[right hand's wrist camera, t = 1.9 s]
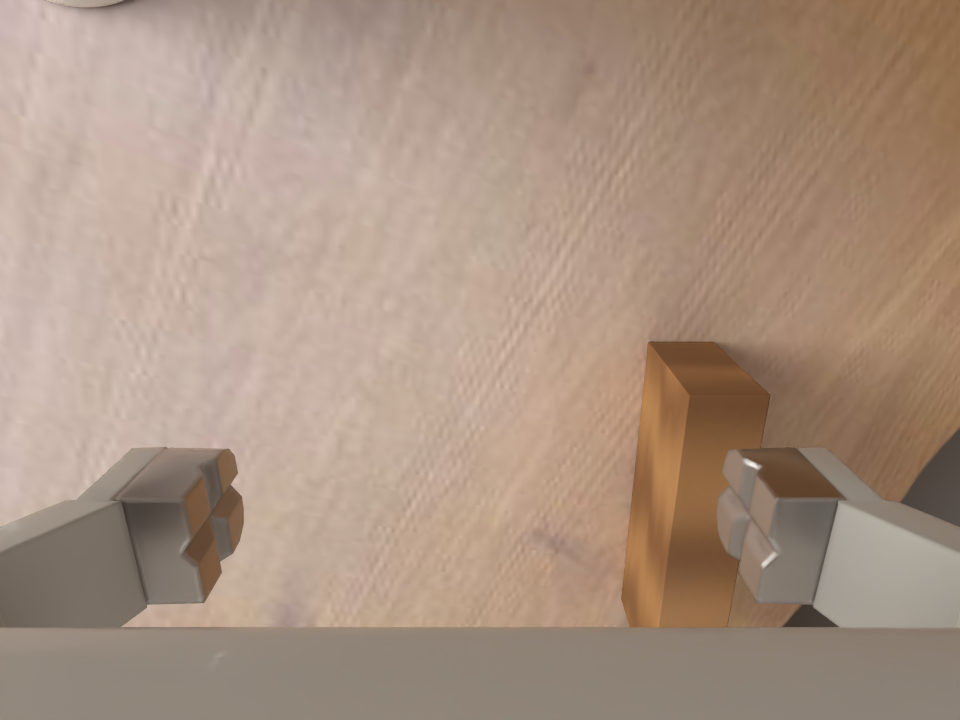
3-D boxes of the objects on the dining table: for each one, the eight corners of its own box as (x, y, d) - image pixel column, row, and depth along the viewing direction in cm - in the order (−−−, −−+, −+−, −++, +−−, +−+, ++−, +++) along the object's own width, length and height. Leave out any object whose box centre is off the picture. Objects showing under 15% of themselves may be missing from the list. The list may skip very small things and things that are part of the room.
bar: (648, 341, 42) (689, 394, 34) (714, 341, 42) (770, 395, 34) (621, 599, 50) (648, 693, 42) (676, 599, 50) (715, 693, 42)
